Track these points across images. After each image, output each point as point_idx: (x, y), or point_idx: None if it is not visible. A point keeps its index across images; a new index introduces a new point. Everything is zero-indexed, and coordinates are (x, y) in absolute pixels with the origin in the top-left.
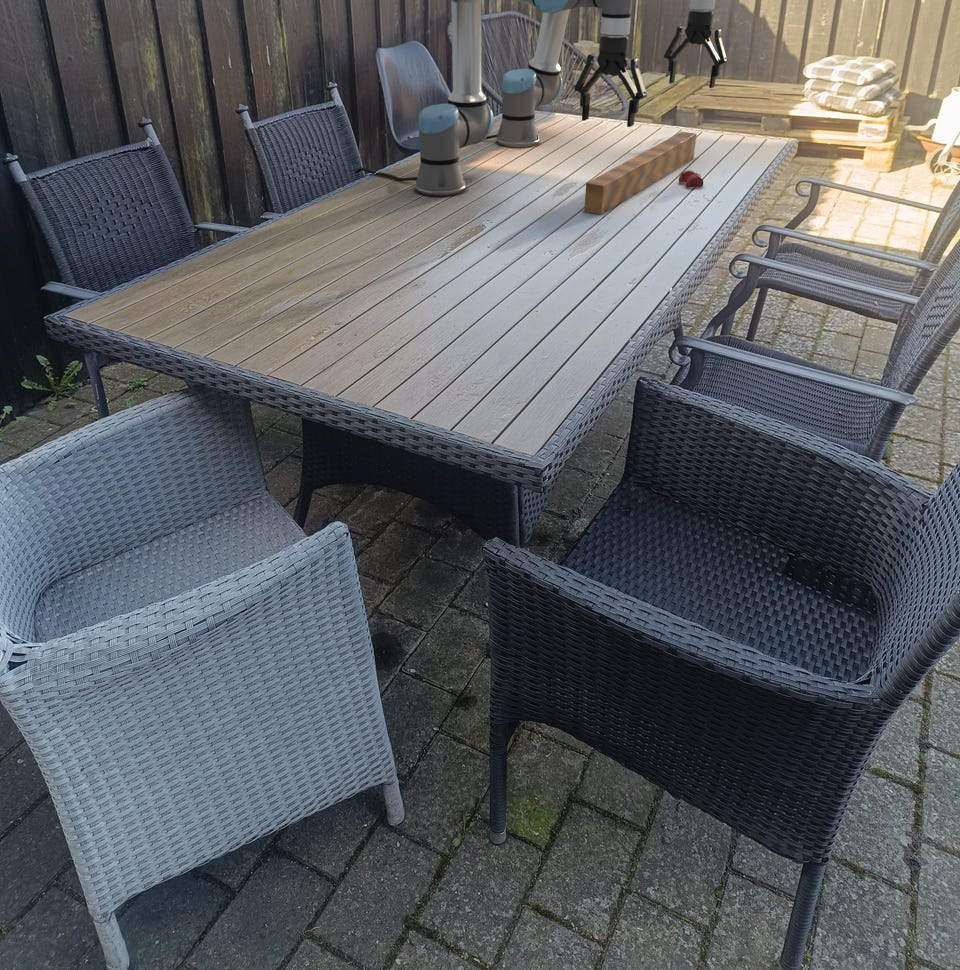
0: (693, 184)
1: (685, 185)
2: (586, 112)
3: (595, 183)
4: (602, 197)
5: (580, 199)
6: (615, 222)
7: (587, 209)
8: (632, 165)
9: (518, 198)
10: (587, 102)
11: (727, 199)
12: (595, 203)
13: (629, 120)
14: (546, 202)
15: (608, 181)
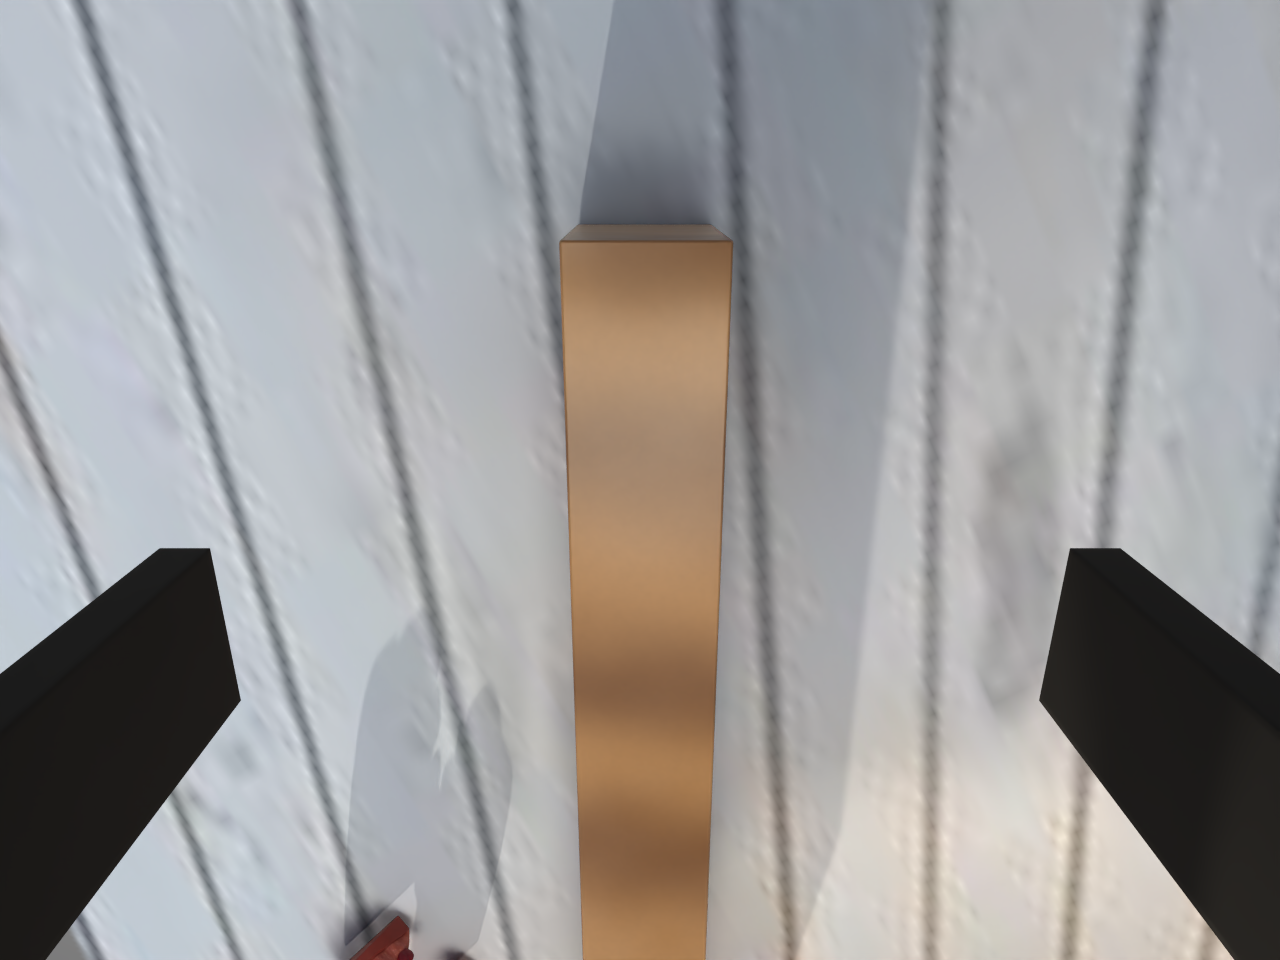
0: (364, 947)
1: (404, 928)
2: (1127, 688)
3: (654, 272)
4: (568, 233)
5: (842, 449)
6: (412, 122)
7: (687, 225)
8: (626, 834)
9: (1259, 234)
10: (1256, 843)
11: (128, 861)
12: (626, 228)
13: (106, 603)
14: (1033, 264)
15: (587, 389)
